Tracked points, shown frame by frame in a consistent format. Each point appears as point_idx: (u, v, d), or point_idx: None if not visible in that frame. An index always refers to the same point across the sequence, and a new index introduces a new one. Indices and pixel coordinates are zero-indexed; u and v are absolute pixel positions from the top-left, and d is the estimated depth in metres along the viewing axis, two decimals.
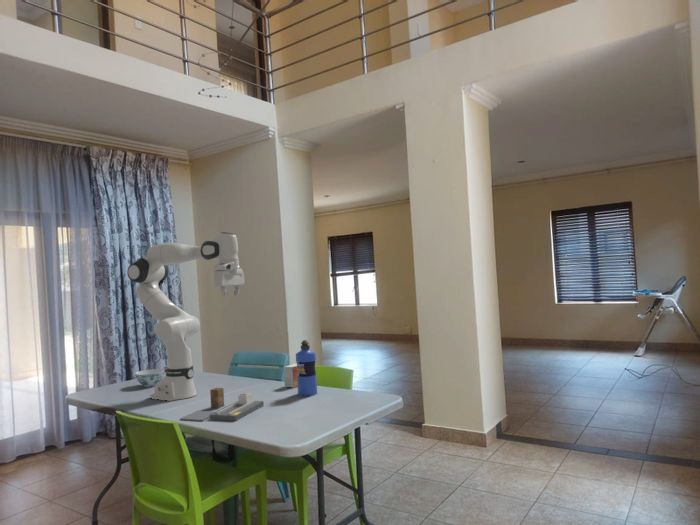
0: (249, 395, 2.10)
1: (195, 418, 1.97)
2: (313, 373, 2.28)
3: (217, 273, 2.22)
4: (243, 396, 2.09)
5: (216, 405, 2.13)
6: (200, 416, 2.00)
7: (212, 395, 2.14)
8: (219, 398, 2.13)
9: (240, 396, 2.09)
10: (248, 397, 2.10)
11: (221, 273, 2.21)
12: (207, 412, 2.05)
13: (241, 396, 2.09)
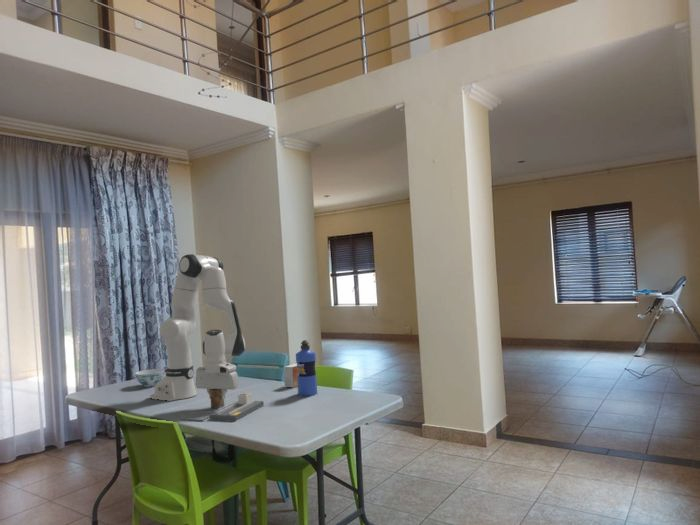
0: (249, 395, 2.10)
1: (195, 418, 1.97)
2: (313, 373, 2.28)
3: (233, 375, 2.12)
4: (243, 396, 2.09)
5: (216, 405, 2.13)
6: (200, 416, 2.00)
7: (212, 395, 2.14)
8: (219, 398, 2.13)
9: (240, 396, 2.09)
10: (248, 397, 2.10)
11: (236, 374, 2.14)
12: (207, 412, 2.05)
13: (241, 396, 2.09)
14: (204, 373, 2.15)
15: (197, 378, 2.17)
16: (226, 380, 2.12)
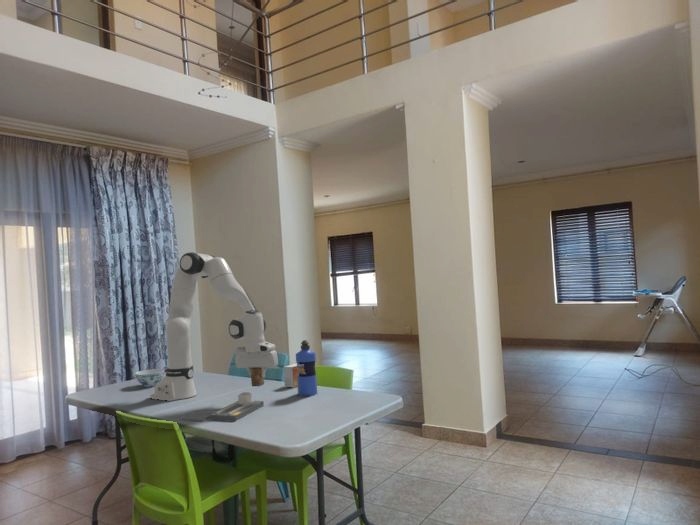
0: (249, 395, 2.10)
1: (195, 418, 1.97)
2: (313, 373, 2.28)
3: (273, 353, 2.17)
4: (243, 396, 2.09)
5: (257, 383, 2.18)
6: (200, 416, 2.00)
7: (252, 373, 2.19)
8: (259, 376, 2.18)
9: (240, 396, 2.09)
10: (248, 397, 2.10)
11: (276, 352, 2.19)
12: (207, 412, 2.05)
13: (241, 396, 2.09)
14: (244, 352, 2.21)
15: (237, 357, 2.22)
16: (266, 359, 2.17)
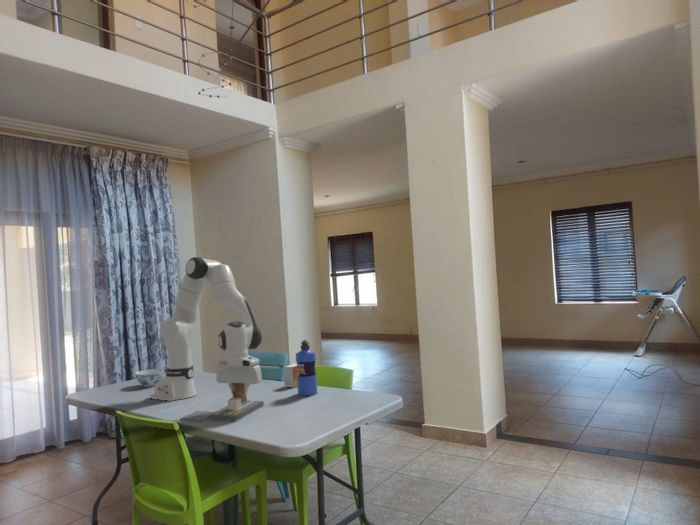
0: (239, 400, 2.03)
1: (195, 418, 1.97)
2: (313, 373, 2.28)
3: (257, 368, 2.03)
4: (232, 401, 2.01)
5: None
6: (200, 416, 2.00)
7: (234, 390, 2.05)
8: (241, 392, 2.05)
9: (229, 401, 2.01)
10: (238, 402, 2.02)
11: (259, 367, 2.05)
12: (207, 412, 2.05)
13: (230, 401, 2.01)
14: (226, 367, 2.07)
15: (218, 372, 2.08)
16: (249, 374, 2.03)
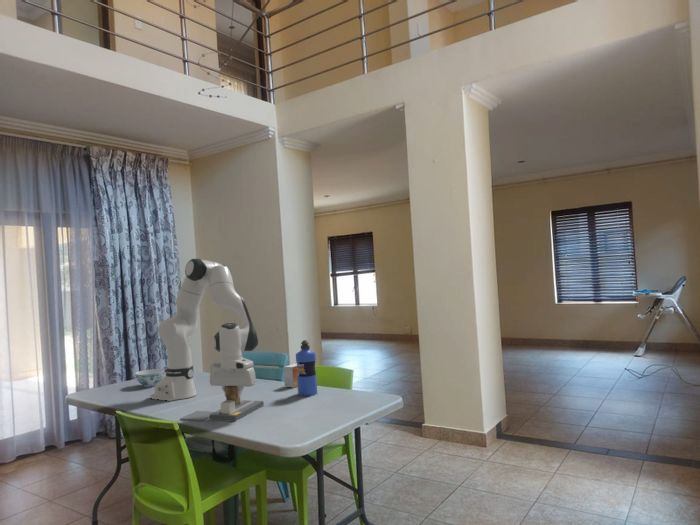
0: (232, 403, 1.98)
1: (195, 418, 1.97)
2: (313, 373, 2.28)
3: (251, 371, 1.99)
4: (226, 404, 1.96)
5: None
6: (200, 416, 2.00)
7: (228, 392, 2.01)
8: (235, 395, 2.00)
9: (223, 404, 1.97)
10: (231, 405, 1.97)
11: (253, 370, 2.01)
12: (207, 412, 2.05)
13: (224, 404, 1.97)
14: (219, 369, 2.02)
15: (211, 374, 2.04)
16: (243, 377, 1.99)
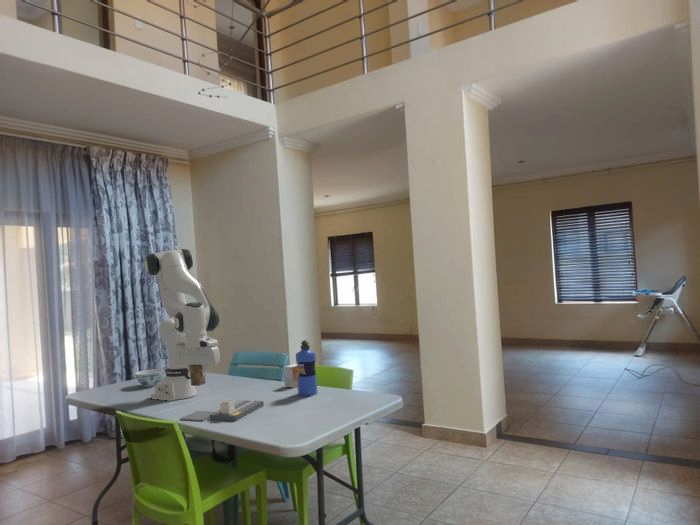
0: (232, 403, 1.98)
1: (195, 418, 1.97)
2: (313, 373, 2.28)
3: (215, 349, 1.99)
4: (225, 404, 1.96)
5: (196, 382, 2.00)
6: (200, 416, 2.00)
7: (192, 371, 2.00)
8: (199, 374, 2.00)
9: (222, 404, 1.97)
10: (231, 405, 1.97)
11: (218, 349, 2.01)
12: (207, 412, 2.05)
13: (223, 404, 1.96)
14: (184, 348, 2.02)
15: (176, 354, 2.03)
16: (207, 356, 1.98)
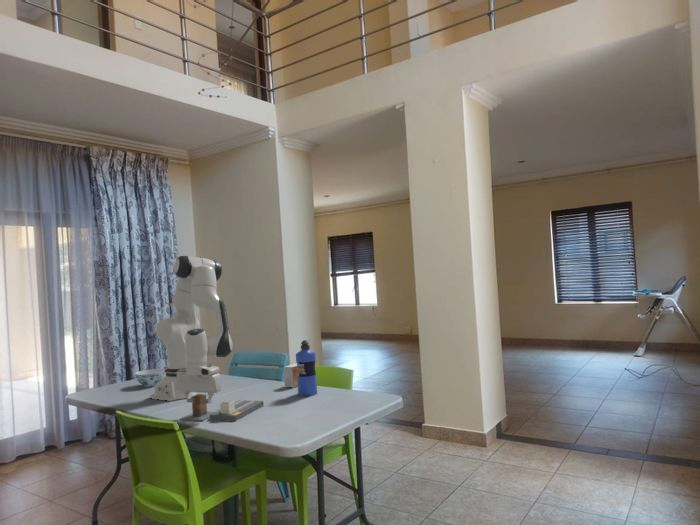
0: (232, 403, 1.98)
1: (195, 418, 1.97)
2: (313, 373, 2.28)
3: (216, 377, 1.98)
4: (225, 404, 1.96)
5: (198, 413, 2.00)
6: None
7: (194, 402, 2.00)
8: (201, 405, 2.00)
9: (222, 404, 1.97)
10: (231, 405, 1.97)
11: (219, 376, 2.00)
12: (207, 412, 2.05)
13: (223, 404, 1.96)
14: (185, 375, 2.02)
15: (178, 380, 2.03)
16: (208, 383, 1.98)
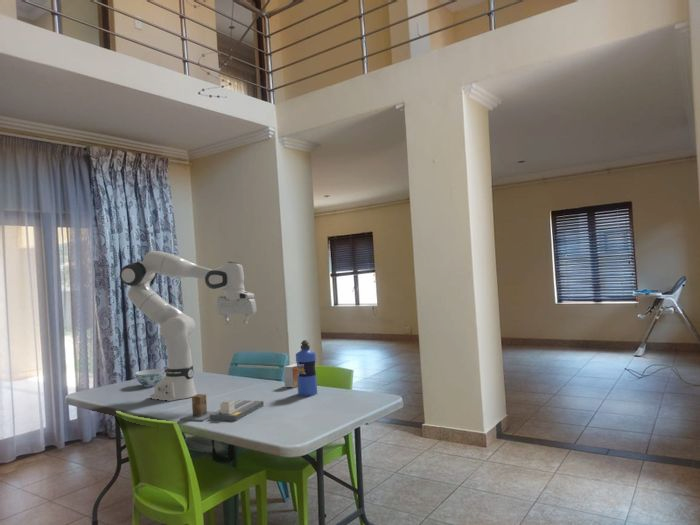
0: (232, 403, 1.98)
1: (195, 418, 1.97)
2: (313, 373, 2.28)
3: (252, 301, 2.32)
4: (225, 404, 1.96)
5: (198, 413, 2.00)
6: None
7: (194, 402, 2.00)
8: (201, 405, 2.00)
9: (222, 404, 1.97)
10: (231, 405, 1.97)
11: (254, 301, 2.34)
12: (207, 412, 2.05)
13: (223, 404, 1.96)
14: (225, 300, 2.35)
15: (218, 305, 2.36)
16: (245, 306, 2.31)
